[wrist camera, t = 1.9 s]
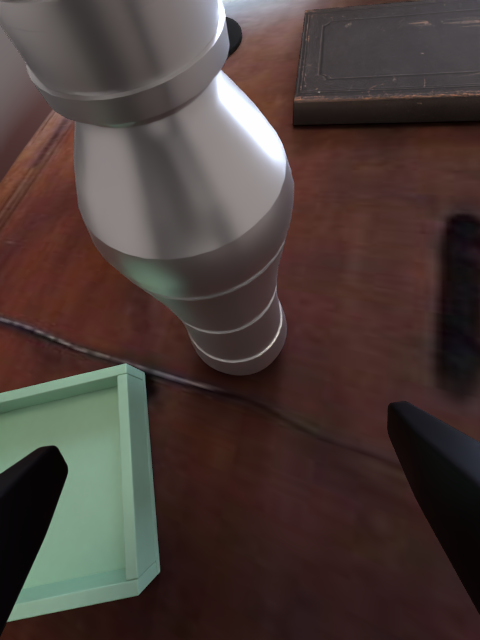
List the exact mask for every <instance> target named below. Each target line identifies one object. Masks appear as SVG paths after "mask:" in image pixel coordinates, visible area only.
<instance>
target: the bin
mask: <svg viewBox="0 0 480 640" xmlns="http://www.w3.org/2000/svg"><path fill="white" fill-rule="evenodd" d="M50 445H54V446H56V447H58V449H59V450H60V452H61V454H62V456H63V458H64V460H65V461H66V463H67V465H68V475H67V478H66V481H65V484H64V487H63V490H62V492H61V495H60V498H59V501H58V504H57V506H56V509H55V512H54V515H53V518H52V520H51V523H50V526H49V529H48V531H47V534H46V536H45V539H44V541H43V543H42V546H41V548H40V550H39V552H38V554H37V557H36V559H35V561H34V563H33V565H32V568H31V570H30V572H29V574H28V576H27V579H26V581H25V583H24V585H23V587H22V590H21V592H20V594H19V596H18V599H17V601H16V603H15V605H14V607H13V610H12V612H11V614H10V616H9V618H8V621H7V622H10V621H15V620H20V619H25V618H30V617H35V616H40V615H45V614H49V613H54V612H59V611H64V610H69V609H74V608H79V607H84V606H89V605H94V604H99V603H104V602H109V601H114V600H119V599H124V598H129V597H134V596H138V595H139V594H140V593H141V592H142V591H143V590H144V589H145V588H146V587H147V586H148V585H149V583H150V582H151V581H152V580H153V579H154V578H155V577H156V576H157V575H158V574H159V573H160V561H159V549H158V536H157V523H156V510H155V498H154V485H153V472H152V459H151V446H150V434H149V421H148V408H147V395H146V383H145V373H144V372H142V371H140V370H138V369H136V368H134V367H132V366H130V365H128V364H122V365H118V366H114V367H110V368H105V369H101V370H97V371H93V372H88V373H84V374H80V375H76V376H72V377H67V378H63V379H59V380H55V381H51V382H46V383H42V384H38V385H34V386H30V387H25V388H21V389H17V390H13V391H8V392H4V393H0V474H1V473H2V472H4V471H5V470H6V469H8V468H9V467H11V466H12V465H14V464H15V463H17V462H18V461H20V460H21V459H22V458H24V457H25V456H27V455H28V454H30V453H31V452H33V451H34V450H36V449H37V448H39V447H42V446H50Z"/></svg>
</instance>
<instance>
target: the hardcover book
mask: <svg viewBox="0 0 480 640" xmlns="http://www.w3.org/2000/svg"><path fill="white" fill-rule="evenodd" d="M447 121H480V0H417V1H406V2H394V3H383V4H372V5H360V6H349V7H337V8H326V9H315V10H306V11H305V17H304V25H303V33H302V41H301V49H300V57H299V65H298V73H297V81H296V89H295V97H294V110H293V124H294V125H315V124H359V123H403V122H447Z"/></svg>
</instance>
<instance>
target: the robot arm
mask: <svg viewBox="0 0 480 640" xmlns="http://www.w3.org/2000/svg"><path fill="white" fill-rule="evenodd" d="M387 430H388V434H389V437H390V440H391V442H392V445H393V447H394V449H395V452H396V454H397V456H398V459H399V461H400V463H401V466H402V468H403V470H404V473H405V475H406V477H407V480H408V482H409V484H410V487H411V489H412V491H413V493H414V496H415V498H416V500H417V502H418V504H419V506H420V507H421V509H422V511H423V513H424V515H425V517H426V518H427V520H428V522H429V524H430V526H431V527H432V529H433V531H434V533H435V535H436V537H437V538H438V540H439V542H440V544H441V546H442V547H443V549H444V551H445V553H446V555H447V556H448V558H449V560H450V562H451V564H452V566H453V567H454V569H455V571H456V573H457V575H458V576H459V578H460V580H461V582H462V584H463V586H464V587H465V589H466V591H467V593H468V595H469V596H470V598H471V600H472V602H473V604H474V605H475V607H476V609H477V611H478V613H479V615H480V442H478V441H476V440H475V439H473V438H471V437H469V436H467V435H466V434H464V433H462V432H460V431H459V430H457V429H455V428H453V427H451V426H450V425H448V424H446V423H444V422H442V421H441V420H439V419H437V418H435V417H434V416H432V415H430V414H428V413H426V412H425V411H423V410H421V409H419V408H418V407H416V406H414V405H412V404H410V403H408V402H406V401H401V402H393V403H390V404H389V405H388V421H387ZM67 475H68V465H67V463H66V461H65V460H64V458H63V456H62V454H61V452H60V450H59V449H58V447H56V446H54V445H50V446H42V447H39V448H37V449H36V450H34V451H33V452H31V453H30V454H28V455H27V456H25V457H24V458H22V459H21V460H20V461H18V462H17V463H15V464H14V465H12V466H11V467H9V468H8V469H6V470H5V471H4V472H2V473H1V474H0V636H1V634H2V632H3V629H4V627H5V625H6V623H7V621H8V618H9V616H10V614H11V612H12V610H13V607H14V605H15V603H16V601H17V599H18V596H19V594H20V592H21V590H22V587H23V585H24V583H25V581H26V579H27V576H28V574H29V572H30V570H31V568H32V565H33V563H34V561H35V559H36V557H37V554H38V552H39V550H40V548H41V546H42V543H43V541H44V539H45V536H46V534H47V531H48V529H49V526H50V523H51V520H52V518H53V515H54V512H55V509H56V506H57V504H58V501H59V498H60V495H61V492H62V490H63V487H64V484H65V481H66V478H67Z"/></svg>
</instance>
